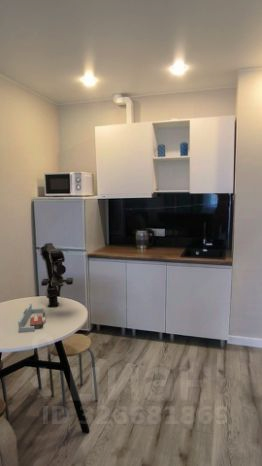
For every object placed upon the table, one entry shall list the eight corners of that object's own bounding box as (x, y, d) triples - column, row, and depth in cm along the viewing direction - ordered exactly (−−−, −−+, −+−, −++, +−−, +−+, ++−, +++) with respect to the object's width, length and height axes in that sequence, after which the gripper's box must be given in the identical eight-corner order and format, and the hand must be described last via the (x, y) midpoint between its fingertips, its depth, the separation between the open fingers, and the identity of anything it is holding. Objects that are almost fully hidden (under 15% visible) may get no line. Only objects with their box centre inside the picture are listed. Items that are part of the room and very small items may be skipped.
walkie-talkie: (46, 329, 177) (45, 315, 196) (45, 321, 176) (45, 308, 195) (29, 331, 175) (31, 316, 194) (29, 323, 174) (30, 310, 193)
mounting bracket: (30, 312, 199) (29, 302, 198) (43, 312, 200) (42, 301, 199) (19, 332, 173) (18, 320, 172) (34, 331, 174) (33, 319, 173)
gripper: (38, 275, 184) (40, 300, 187) (70, 273, 186) (72, 299, 188) (42, 269, 195) (44, 293, 198) (72, 268, 197) (74, 292, 199)
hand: (58, 294), depth 195 cm, fingers closed
